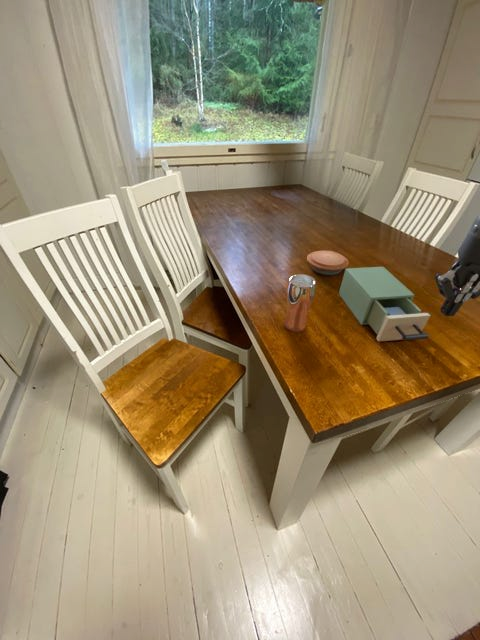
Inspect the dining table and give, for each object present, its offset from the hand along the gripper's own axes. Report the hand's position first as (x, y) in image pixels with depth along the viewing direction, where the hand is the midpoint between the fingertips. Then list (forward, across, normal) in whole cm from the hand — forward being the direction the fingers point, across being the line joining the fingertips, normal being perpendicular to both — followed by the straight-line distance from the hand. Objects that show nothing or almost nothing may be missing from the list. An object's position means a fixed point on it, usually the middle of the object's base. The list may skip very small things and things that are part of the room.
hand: (446, 313), depth 57 cm
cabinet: (+16, 0, +24) cm, 29 cm away
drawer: (+15, 0, +13) cm, 20 cm away
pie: (+16, -4, +51) cm, 53 cm away
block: (+14, 0, +13) cm, 19 cm away
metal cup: (+16, -26, +18) cm, 35 cm away
